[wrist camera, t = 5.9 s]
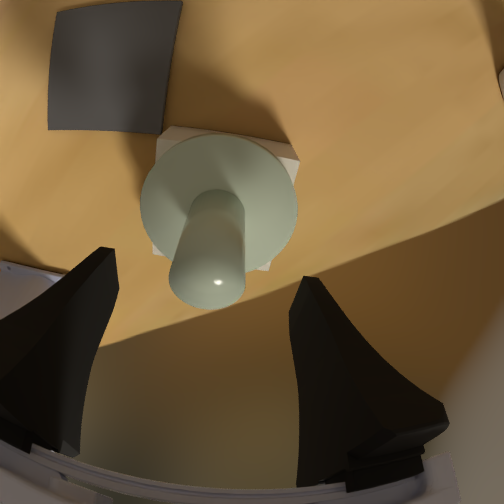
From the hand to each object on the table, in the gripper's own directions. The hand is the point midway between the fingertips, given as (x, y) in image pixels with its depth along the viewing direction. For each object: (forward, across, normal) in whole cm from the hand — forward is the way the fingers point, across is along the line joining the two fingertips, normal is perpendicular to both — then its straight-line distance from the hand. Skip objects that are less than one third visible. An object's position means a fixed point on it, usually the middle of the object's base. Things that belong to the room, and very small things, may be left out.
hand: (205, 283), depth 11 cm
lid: (+6, 0, 0) cm, 6 cm away
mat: (+8, +8, -7) cm, 14 cm away
